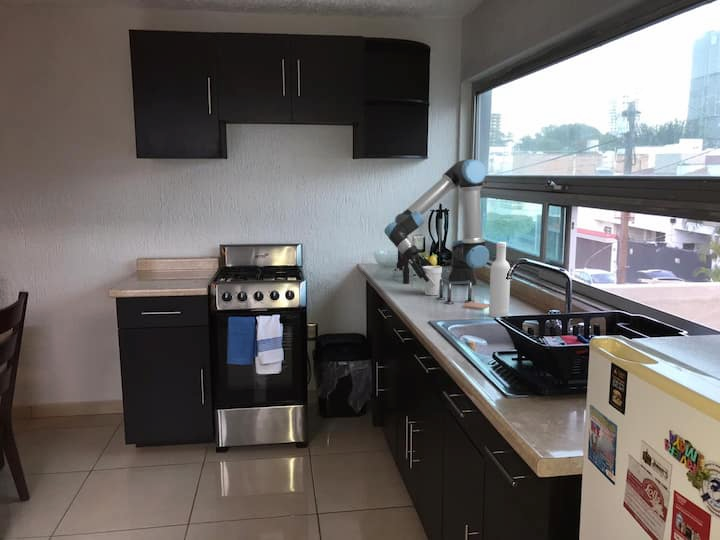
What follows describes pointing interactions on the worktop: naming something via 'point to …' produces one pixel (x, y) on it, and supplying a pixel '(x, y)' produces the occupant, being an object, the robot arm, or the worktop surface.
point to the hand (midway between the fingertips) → (437, 284)
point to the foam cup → (435, 275)
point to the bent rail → (450, 291)
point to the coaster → (475, 305)
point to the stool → (403, 270)
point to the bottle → (499, 284)
